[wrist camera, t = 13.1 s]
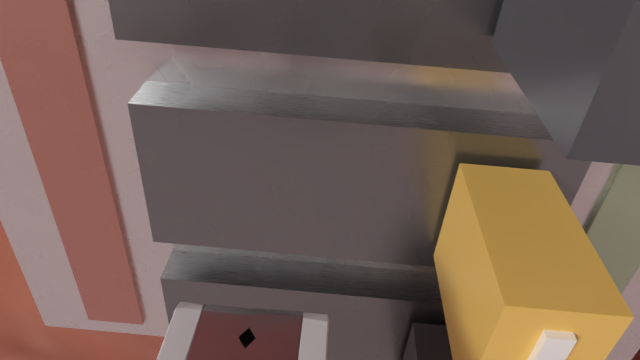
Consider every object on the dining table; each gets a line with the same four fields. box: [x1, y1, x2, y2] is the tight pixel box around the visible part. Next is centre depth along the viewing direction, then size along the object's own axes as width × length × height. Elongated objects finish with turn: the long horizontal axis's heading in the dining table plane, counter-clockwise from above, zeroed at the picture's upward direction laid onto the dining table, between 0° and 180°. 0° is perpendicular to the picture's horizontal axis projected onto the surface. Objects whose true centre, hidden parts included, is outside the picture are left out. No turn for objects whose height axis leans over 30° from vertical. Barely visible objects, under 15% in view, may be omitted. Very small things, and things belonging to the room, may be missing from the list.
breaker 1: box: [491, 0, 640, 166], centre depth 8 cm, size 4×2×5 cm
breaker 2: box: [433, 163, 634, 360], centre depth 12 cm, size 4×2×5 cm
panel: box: [0, 0, 640, 360], centre depth 16 cm, size 20×26×3 cm
